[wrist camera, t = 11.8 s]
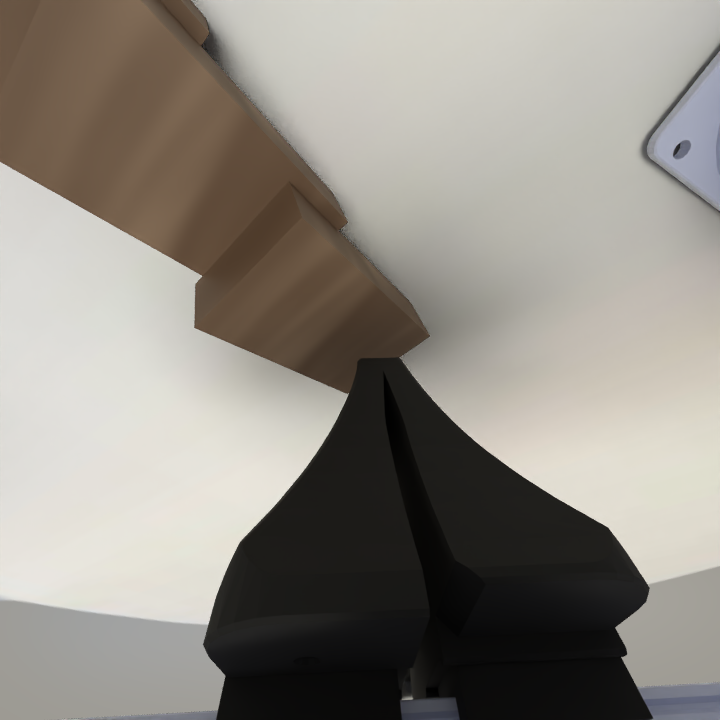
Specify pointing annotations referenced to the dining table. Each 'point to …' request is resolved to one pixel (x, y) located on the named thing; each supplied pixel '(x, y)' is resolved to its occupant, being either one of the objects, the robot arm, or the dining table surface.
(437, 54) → the dining table surface
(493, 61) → the dining table surface
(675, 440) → the dining table surface
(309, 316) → the domino
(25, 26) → the domino
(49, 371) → the dining table surface
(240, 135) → the domino
